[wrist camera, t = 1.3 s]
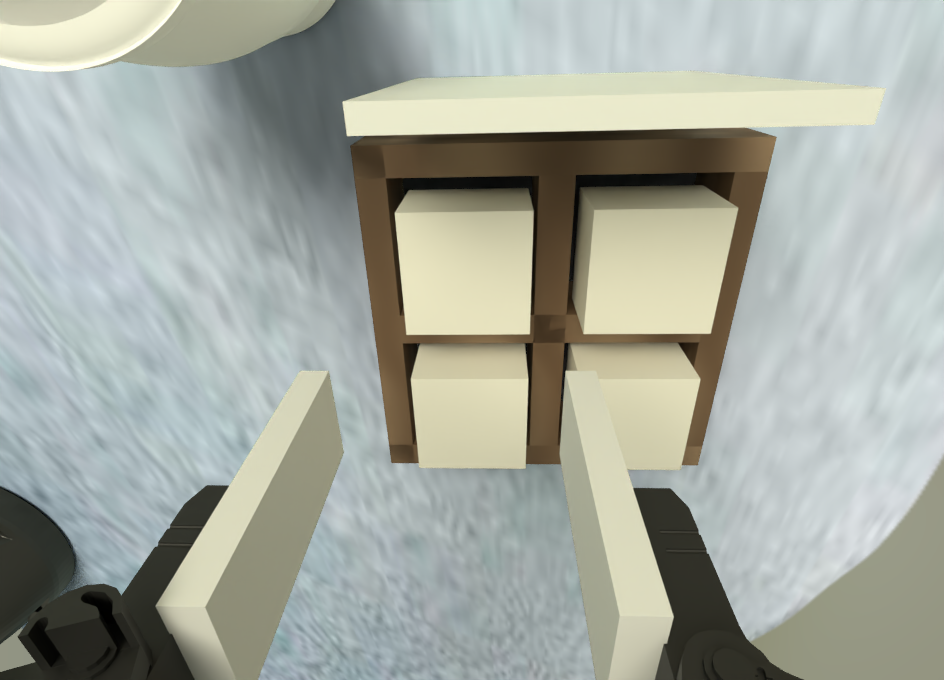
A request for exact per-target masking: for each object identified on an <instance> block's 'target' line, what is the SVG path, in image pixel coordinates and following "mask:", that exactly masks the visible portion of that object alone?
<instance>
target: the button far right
mask: <svg viewBox="0 0 944 680" xmlns="http://www.w3.org/2000/svg"><path fill="white" fill-rule="evenodd" d="M567 371H596V373H597V376H598V379H599V383H600V386H601V389H602V392H603V395H604V398H605V402H606V405H607V408H608V411H609V414H610V417H611V420H612V424H613V427H614V430H615V433H616V436H617V439H618V443H619V446H620V449H621V452H622V455H623V458H624V461H625V465H626V468H627V470H681V466H682V461H683V457H684V452H685V448H686V443H687V439H688V434H689V429H690V425H691V420H692V416H693V411H694V407H695V402H696V398H697V393H698V389H699V384H700V380H701V379H700V377H699V376H698V374H697V373H696V371H695V369H694V368H693V366H692V365H691V363H690V361H689V360H688V358H687V357H686V355H685V354H684V352H683V350H682V349H681V347H680V346H679V344H678V342H664V343H569V345H568V358H567Z"/></svg>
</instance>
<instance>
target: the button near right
mask: <svg viewBox="0 0 944 680" xmlns="http://www.w3.org/2000/svg"><path fill="white" fill-rule="evenodd" d="M737 212H738V207H736V206H735V205H733V204H732V203H730V202H729V201H727V200H725V199H724V198H722V197H721V196H719V195H718V194H716V193H714V192H713V191H711V190H710V189H708V188H707V187H705V186H703V185H685V186H626V187H580V194H579V208H578V222H577V235H576V249H575V263H574V276H573V290H572V299H573V303H574V306H575V309H576V312H577V315H578V318H579V322H580V325H581V328H582V331H583V334H711V330H712V325H713V321H714V316H715V312H716V307H717V303H718V298H719V294H720V289H721V285H722V280H723V276H724V271H725V266H726V262H727V257H728V253H729V248H730V244H731V239H732V235H733V230H734V226H735V221H736V217H737Z"/></svg>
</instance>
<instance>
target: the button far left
mask: <svg viewBox="0 0 944 680" xmlns="http://www.w3.org/2000/svg"><path fill="white" fill-rule="evenodd" d="M411 386H412V397H413V407H414V417H415V428H416V438H417V448H418V458H419V468H493V469H526V437H527V406H528V371H527V361H526V351H525V343H420V345H419V349H418V353H417V357H416V361H415V365H414V369H413V373H412V376H411Z"/></svg>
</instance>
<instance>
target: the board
mask: <svg viewBox="0 0 944 680" xmlns="http://www.w3.org/2000/svg"><path fill="white" fill-rule="evenodd" d="M775 141H776V137H775V136H772V135H768V134H765V133H762V132H758V131H755V130H752V129H748V128H745V127H743V128H697V129H651V130H605V131H559V132H513V133H467V134H421V135H374V136H365V137H363V138H362V139H360V140H359V141H357V142H355V143H354V144H352V145H351V146H350V148H351V155H352V163H353V171H354V178H355V186H356V194H357V201H358V209H359V217H360V225H361V232H362V240H363V248H364V255H365V263H366V271H367V278H368V286H369V294H370V301H371V309H372V317H373V324H374V332H375V340H376V347H377V355H378V363H379V370H380V378H381V386H382V393H383V401H384V409H385V416H386V424H387V432H388V439H389V447H390V455H391V463H419V458H418V448H417V438H416V428H415V417H414V407H413V397H412V386H411V376H412V373H413V369H414V365H415V361H416V357H417V353H418V348H417V343H527V371H528V406H527V437H526V464H561V460H560V440H561V427H562V413H563V401H561V387H562V372H563V358H564V343H664V342H678V344H679V346H680V347H681V349H682V350H683V352H684V354H685V355H686V357H687V358H688V360H689V361H690V363H691V365H692V366H693V368H694V369H695V371H696V373H697V374H698V376H699V377H700V379H701V380H700V384H699V389H698V393H697V398H696V402H695V407H694V411H693V416H692V420H691V425H690V429H689V434H688V439H687V443H686V448H685V452H684V457H683V461H682V465H698V462H699V458H700V453H701V449H702V445H703V441H704V437H705V433H706V428H707V424H708V420H709V416H710V412H711V408H712V404H713V399H714V395H715V391H716V387H717V383H718V379H719V374H720V370H721V366H722V362H723V358H724V354H725V349H726V345H727V341H728V337H729V333H730V329H731V324H732V320H733V316H734V312H735V308H736V304H737V300H738V295H739V291H740V287H741V283H742V279H743V275H744V270H745V266H746V262H747V258H748V254H749V250H750V245H751V241H752V237H753V233H754V229H755V225H756V220H757V216H758V212H759V208H760V204H761V200H762V195H763V191H764V187H765V183H766V179H767V175H768V171H769V166H770V162H771V158H772V154H773V150H774V146H775ZM659 173H697V174H696V180H695V185H703V186H705V187H707V188H708V189H710V190H711V191H713V192H714V193H716V194H718V195H719V196H721V197H722V198H724V199H725V200H727V201H729V202H730V203H732V204H733V205H735V206H736V207H738V212H737V217H736V221H735V226H734V230H733V235H732V239H731V244H730V248H729V253H728V257H727V262H726V266H725V271H724V276H723V280H722V285H721V289H720V294H719V298H718V303H717V307H716V312H715V316H714V321H713V325H712V330H711V334H583V331H582V328H581V325H580V322H579V318H578V315H577V312H576V309H575V306H574V303H573V299H572V290H573V281H569V270H570V256H571V241H572V227H573V212H574V198H575V183H576V175H604V174H659ZM492 176H532V206H533V210H534V217H533V249H532V280H531V312H530V334H503V335H406V325H405V314H404V304H403V294H402V283H401V273H400V263H399V253H398V242H397V232H396V222H395V212H396V210H397V208H398V207H399V205H400V204H401V202H402V200H403V199H404V186H403V178H436V177H492Z"/></svg>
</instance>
